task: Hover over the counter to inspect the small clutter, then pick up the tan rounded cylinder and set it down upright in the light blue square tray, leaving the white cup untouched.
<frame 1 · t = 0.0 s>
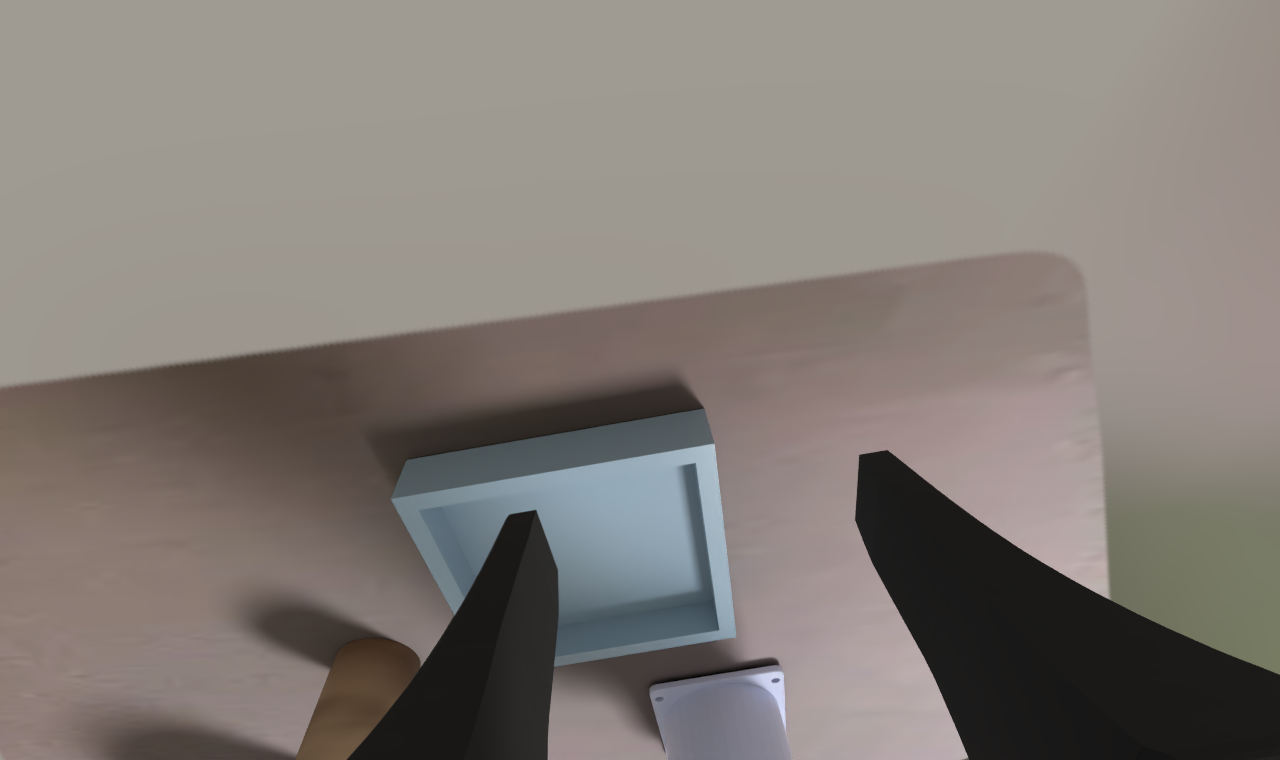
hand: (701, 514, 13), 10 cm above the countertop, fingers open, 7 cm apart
light blue square tray: (585, 536, 28), on the countertop
tan rounded cylinder: (378, 662, 32), on the countertop
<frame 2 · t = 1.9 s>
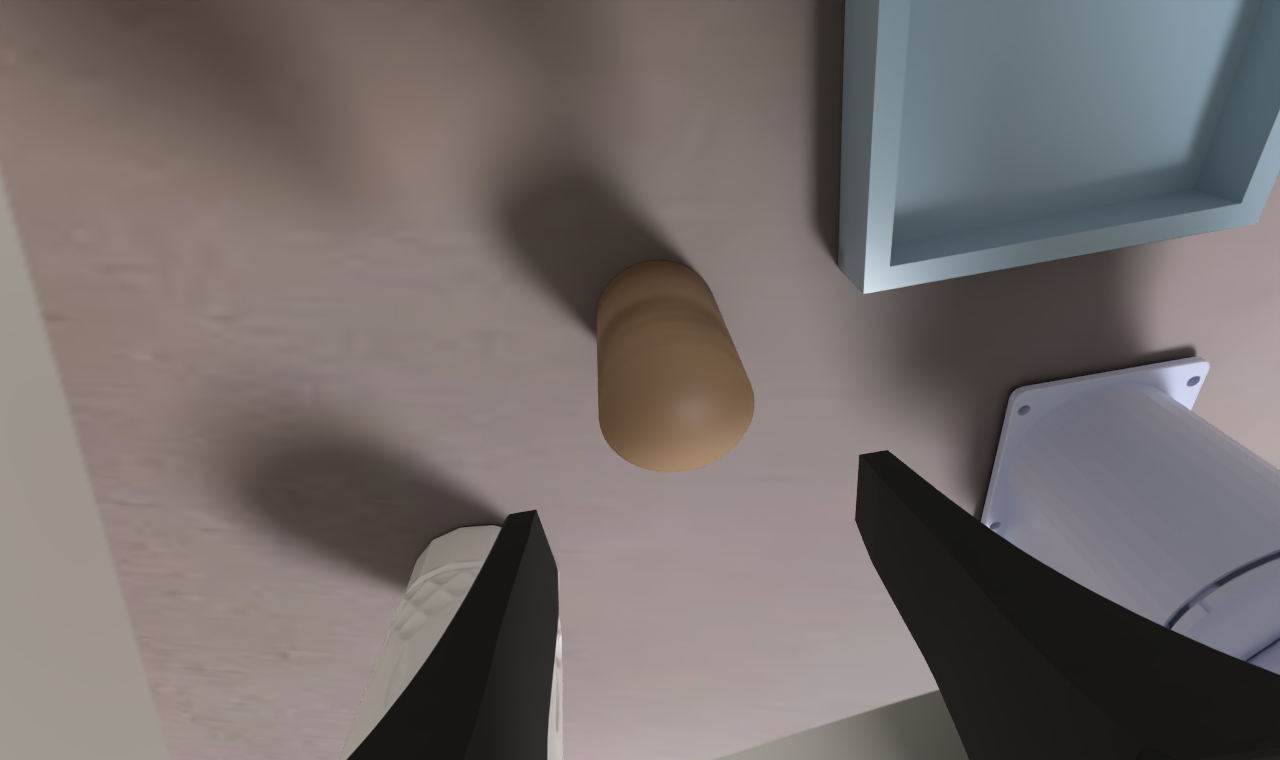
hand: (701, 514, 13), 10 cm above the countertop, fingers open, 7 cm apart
white cup: (489, 568, 28), on the countertop
light blue square tray: (1055, 31, 17), on the countertop
tan rounded cylinder: (656, 317, 21), on the countertop
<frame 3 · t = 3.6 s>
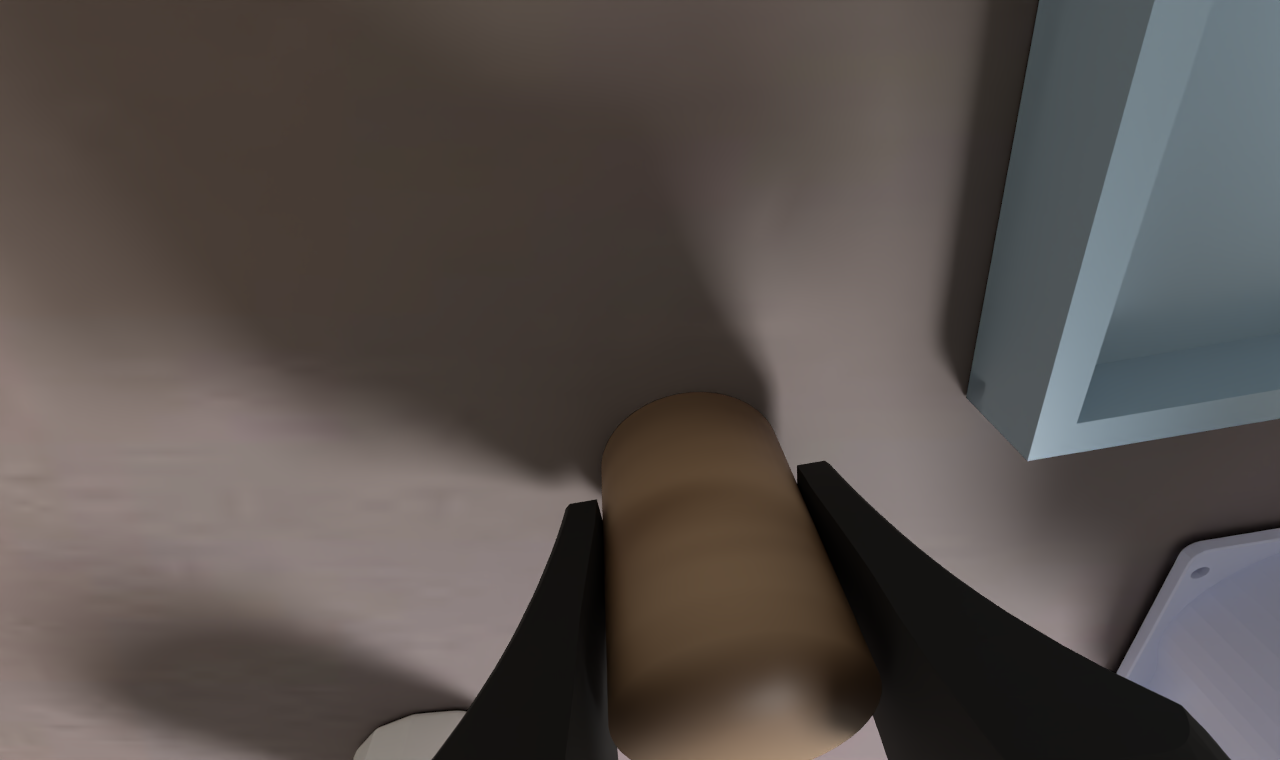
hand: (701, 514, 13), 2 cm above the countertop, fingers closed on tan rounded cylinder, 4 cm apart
white cup: (456, 751, 21), on the countertop
tan rounded cylinder: (690, 465, 14), on the countertop, touching gripper
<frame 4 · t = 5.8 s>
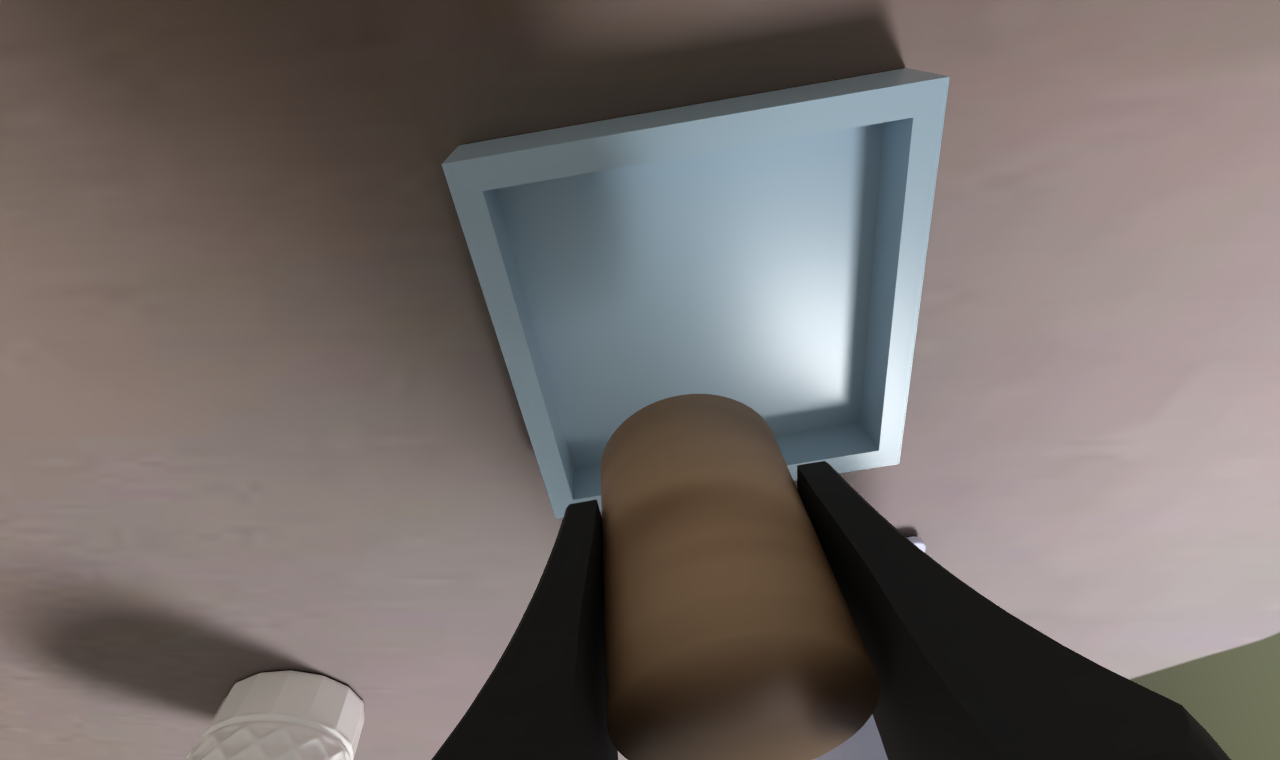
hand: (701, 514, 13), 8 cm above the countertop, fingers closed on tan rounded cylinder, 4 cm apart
white cup: (299, 701, 31), on the countertop
light blue square tray: (701, 309, 20), on the countertop
tan rounded cylinder: (689, 467, 14), point 7 cm above the countertop, touching gripper
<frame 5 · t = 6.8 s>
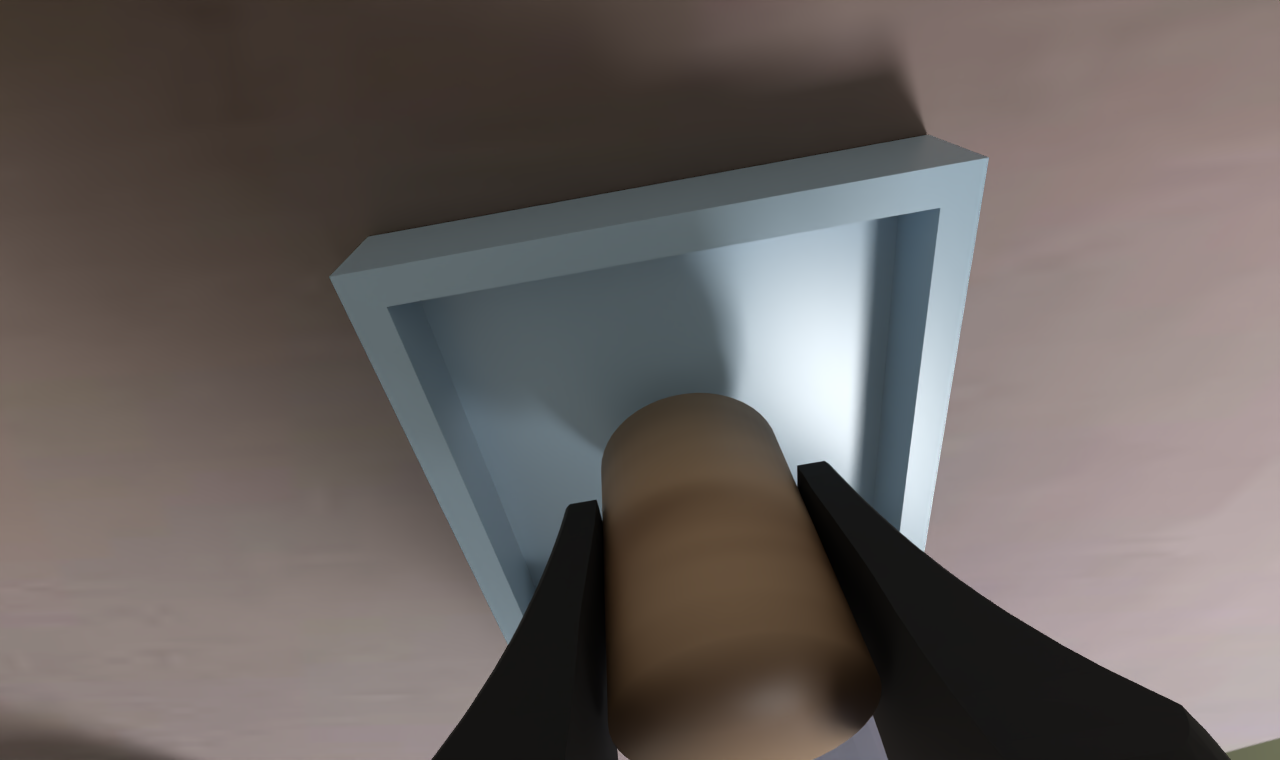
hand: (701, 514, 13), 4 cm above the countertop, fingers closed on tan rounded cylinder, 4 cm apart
light blue square tray: (678, 412, 16), on the countertop
tan rounded cylinder: (690, 466, 14), point 2 cm above the countertop, touching gripper
when the fingers open (4 cm above the countertop, at t = 7.7 s): tan rounded cylinder drops 1 cm, resting on light blue square tray.
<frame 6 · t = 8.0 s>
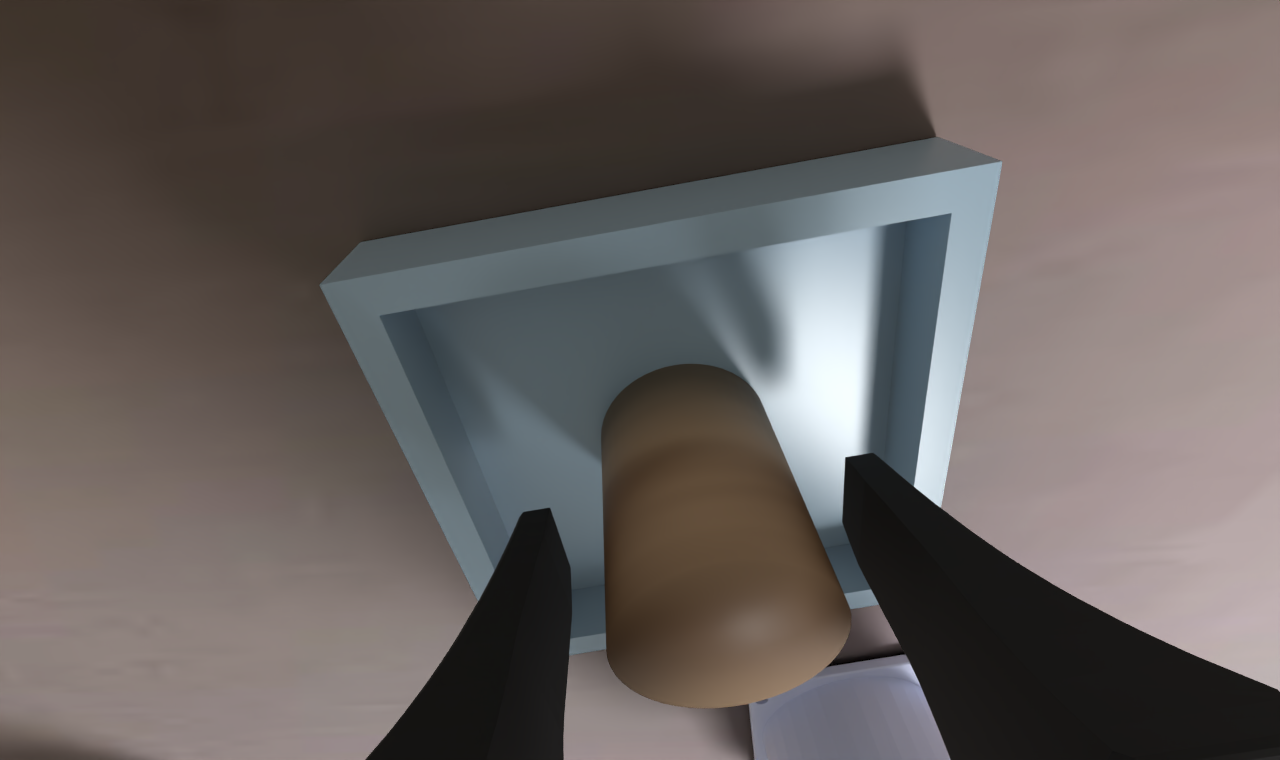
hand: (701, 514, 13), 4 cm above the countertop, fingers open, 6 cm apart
light blue square tray: (680, 420, 16), on the countertop
tan rounded cylinder: (684, 434, 15), point 1 cm above the countertop, touching light blue square tray
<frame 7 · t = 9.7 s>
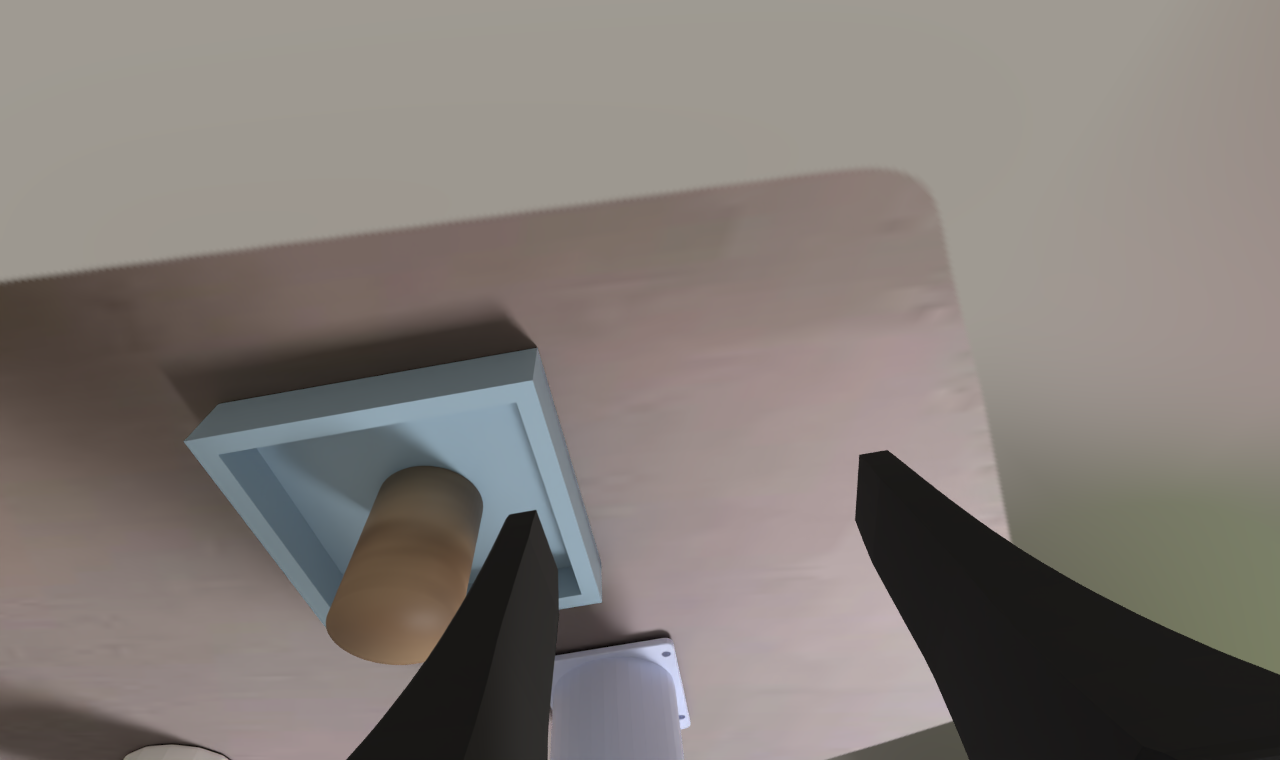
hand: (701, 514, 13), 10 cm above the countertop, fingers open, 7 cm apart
light blue square tray: (434, 493, 26), on the countertop
tan rounded cylinder: (431, 503, 25), point 1 cm above the countertop, touching light blue square tray
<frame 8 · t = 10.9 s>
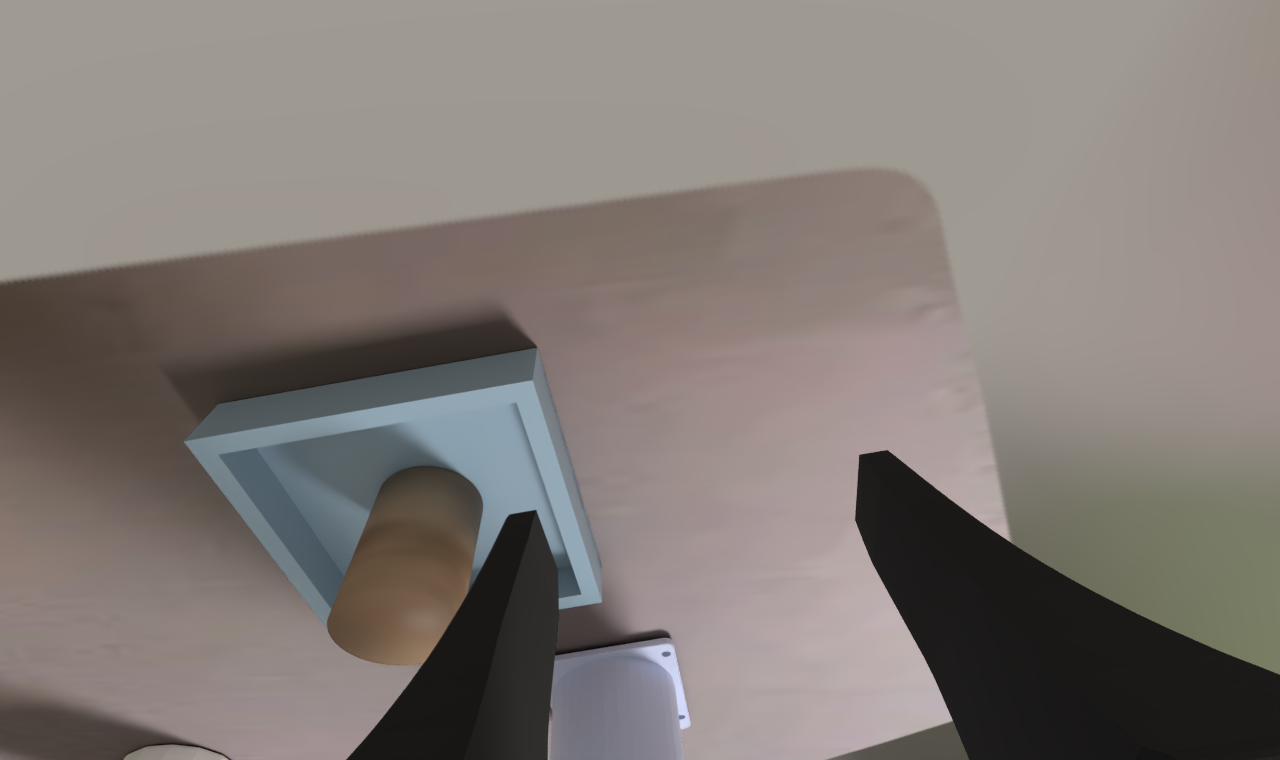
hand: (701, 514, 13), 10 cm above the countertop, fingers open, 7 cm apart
light blue square tray: (434, 493, 26), on the countertop
tan rounded cylinder: (431, 504, 25), point 1 cm above the countertop, touching light blue square tray
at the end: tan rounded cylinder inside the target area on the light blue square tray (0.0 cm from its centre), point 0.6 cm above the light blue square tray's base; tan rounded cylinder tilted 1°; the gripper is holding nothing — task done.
